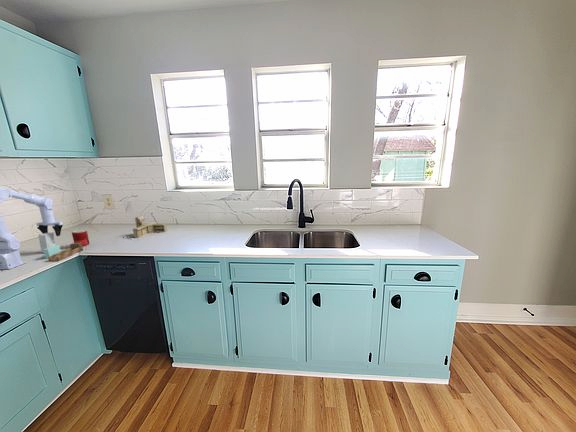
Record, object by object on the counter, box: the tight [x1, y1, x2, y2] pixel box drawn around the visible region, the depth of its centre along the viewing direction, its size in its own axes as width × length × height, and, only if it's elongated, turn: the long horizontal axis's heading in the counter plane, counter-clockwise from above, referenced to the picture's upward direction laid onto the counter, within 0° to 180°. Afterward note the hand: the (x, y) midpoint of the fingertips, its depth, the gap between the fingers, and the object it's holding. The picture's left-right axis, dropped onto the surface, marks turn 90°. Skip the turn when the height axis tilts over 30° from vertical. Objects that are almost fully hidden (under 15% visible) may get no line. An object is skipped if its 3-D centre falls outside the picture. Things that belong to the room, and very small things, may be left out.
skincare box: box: [38, 232, 56, 254], centre depth 158 cm, size 6×4×12 cm
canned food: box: [71, 228, 90, 248], centre depth 169 cm, size 8×8×11 cm
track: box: [47, 242, 84, 263], centre depth 151 cm, size 18×6×5 cm, turn 3°
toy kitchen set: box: [132, 215, 168, 239], centre depth 192 cm, size 18×17×15 cm
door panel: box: [43, 244, 62, 260], centre depth 151 cm, size 8×2×6 cm, turn 3°
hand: (52, 236), depth 160 cm, fingers open, 7 cm apart
